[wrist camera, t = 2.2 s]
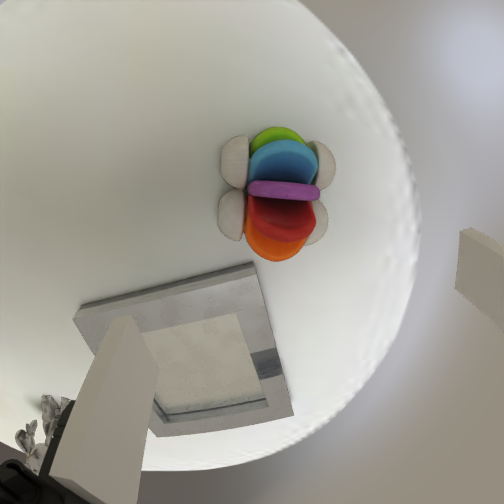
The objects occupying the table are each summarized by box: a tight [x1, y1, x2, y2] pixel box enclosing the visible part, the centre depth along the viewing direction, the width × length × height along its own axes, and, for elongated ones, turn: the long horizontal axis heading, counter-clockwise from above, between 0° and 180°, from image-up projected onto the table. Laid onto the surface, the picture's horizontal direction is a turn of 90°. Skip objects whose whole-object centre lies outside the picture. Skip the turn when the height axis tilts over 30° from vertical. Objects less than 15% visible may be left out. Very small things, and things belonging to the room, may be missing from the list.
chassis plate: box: [73, 262, 294, 437], centre depth 29 cm, size 20×18×2 cm
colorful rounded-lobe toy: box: [217, 127, 336, 262], centre depth 21 cm, size 8×10×7 cm
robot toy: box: [15, 395, 71, 476], centre depth 26 cm, size 15×6×15 cm, turn 93°
